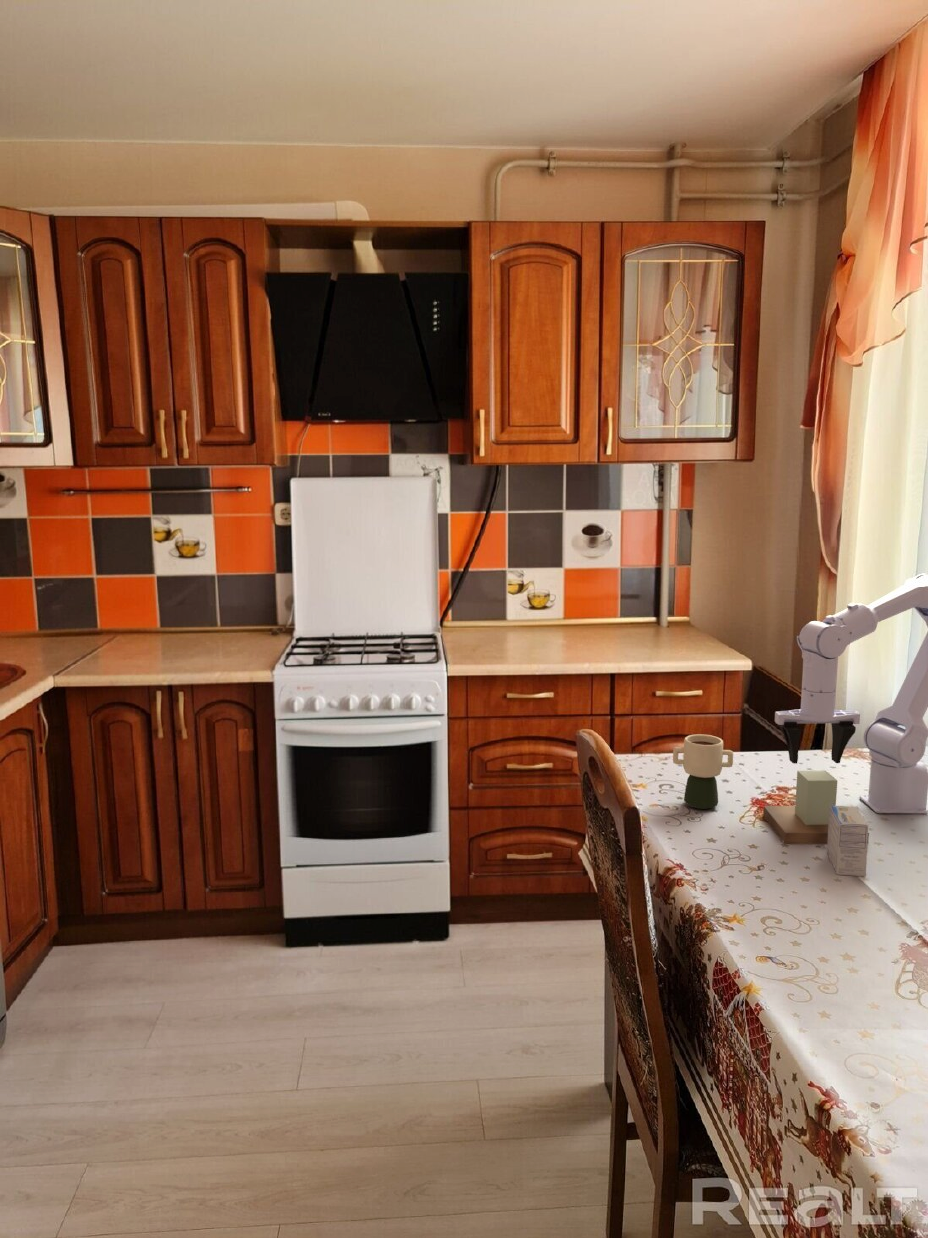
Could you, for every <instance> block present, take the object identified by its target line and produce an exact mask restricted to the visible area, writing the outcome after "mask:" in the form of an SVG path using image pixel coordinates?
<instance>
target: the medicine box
mask: <svg viewBox="0 0 928 1238" xmlns="http://www.w3.org/2000/svg"><path fill="white" fill-rule="evenodd" d="M868 833H869V825H868V823H867V821H866V819H865V818H864V816H863V814H862V813H861V812H860V810H859V808H858V807H857V806H851V805H850V806H848V805H836V806H830V810H829V825H828V840H827V844H826V855H828V858H829V861H830V863H831V864H832V867H833V869H834V870H835V873H836V875H841V876H850V877H851V876H853V877H866V876H867V861H868V845H869V840H868Z"/></svg>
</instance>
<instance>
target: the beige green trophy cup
mask: <svg viewBox="0 0 928 1238" xmlns="http://www.w3.org/2000/svg"><path fill="white" fill-rule="evenodd" d="M672 750H673V751H672V763H673V764H675V765H682V767H683V769H684V772H685V774H688V775H689V776H688V777H687V780H686V785H685V791H684V795H683V797H684V798H683V801H684V802H685V803H686V805H688V806H690V807H692V808H695V809H698V810H699V809H700V810H701V809H702V810H703V809H704V810H708V809H712V808H715V807H716V806H718V805H719V793H718V783H717V778H716V777H718V776H720V775H721V772H722V771H723V768H732V767H733V765H734V751H733V750H730V749H724V740H723V739H722V738H720V737H718V736H714V735H710V734H701V733H700V734H699V733H697V734H696V733H695V734H691V735H690V734H689V735H687V736H685V737H684V740H683V747H680V746H679V747H678V746H675V747H673V749H672ZM679 753H682V754H683V756H682V758H681V759H679ZM723 756H727V761H723V760H724V759H723V758H724V757H723Z"/></svg>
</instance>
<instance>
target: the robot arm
mask: <svg viewBox="0 0 928 1238" xmlns="http://www.w3.org/2000/svg"><path fill="white" fill-rule="evenodd" d="M846 607H847V608H846V609H843V610H842V611H840V612H839V611H838V613H835V614H833V615H830V614H829V615H826V616H825V617H824V619H823V620H822V621H818V620H817V621H816V620H813V621H809V622H808V623H807V624H805V625H804V626H803V627H802V629H801V630H800V632H799V635H797V636H796V641H797V645H798V647H799V648H800V650H801V658H802V659H803V661H802V675H801V676H802V677H801V679H802V680H801V695H800V697H801V699H800V709H791V710H780V711H775V712H774V722H775V724H777V725H778V726H779V728H780V730H781V732H782V735H783V738H784V740H785V743H786V746H787V751H788V760H789V761H790V762H791V763H792V764H795V765H797V764H798V760H799V745H800V738H801V734H802V730H801V729H800V728H799V725H798V724H831V725H830V726H831V733H832V734H831V735H832V736H831V737H832V741H831V742H832V743H831V753H830V755H831V756H830V757H831V761H833V762H834V763H835V764H840V763H841V761H842V760H841V759H842V757H843V753H844V751H845V749H846V747H847V745H848V743H849V741H850V740H851V738H852V737H853V736H854V734H856V729H857V726H855V725H860V724H861V723H860V721H861V719H860V718H861V713H859V711H856V710H843V709H842V710H841V709H836V695H837V681H838V663H839V657H840V656H842V654H844V652H845V650H846V649H847V647H848V646H849V645H850V644H852V643H854V642H856V641H858V640H859V639H863V638H864V637H866V636H868V635H870V634H872V633H874V632H875V631H876V630H877V627H878V624H879V623H880V622H882V621H884V620H887V619H889V618H892V617H894V616H896V615H898V614H901V613H904V612H906V611H908V610H912V609H913V608H914V609H915V611H916V612H917V613H918V615H919V616H920V617H921V619H923V621H924V623H925V624H926V627H927V628H928V574H927V573H920V574H918V575H916V576H914V577H912V578H908V579H907V580H905V582H904V585H901V586H900V587H898V588H896V589H894V590H893V591H891V592H889V593H888V594H886V595H884V596H882V597H881V598H879V599H877V600H876V601H873V602H871V603H870V604H868V605H865V604H863V603H855V602H850V603H849V604H847V605H846ZM913 659H914V660H913V662H912V664H911V666H910V667H909V670H908V672H907V674H906V676H905V678H904V680H903V682H902V684H901V686H900V688H899V691H898V693H897V694H896V697H895V699H894V701H893V703H892V705H890V706H888V707H886V708H884V709H881V710H879V711H878V712H877V715H876V716H875V718H874V719H873V721H871V722H870V723H869V724H868V725H867V726H866V728H865V730H864V732H863V744H864V746H865V747H866V748H867V749H868V750H869V752H868V754H869V756H870V757H871V759H870V768H869V769H870V770H869V780H868V781H869V783H868V794H864V795H863V794H860V795H859V799H860V800H861V801H863V802H864V803H865V805H867V806H868V807H869V808H870V809H871V810H873V811H874V812H875V813H876V814H928V809H927V803H928V802H927V801H928V768H927V765H926V764H925V763H924V762H923V761H921V760H922V758H923V757H924V755H925V752H926V744H927V739H928V726H927V725H926V723H925V721H924V716H925V714H926V713H927V710H928V631H927V632H926V635H925V636H924V638H923V641H922V643H921V645H920V647H919V649H918V650H917V653H916V655H915V658H913ZM901 726H902V727H901ZM903 727H904V728H903Z"/></svg>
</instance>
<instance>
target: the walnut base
mask: <svg viewBox="0 0 928 1238" xmlns="http://www.w3.org/2000/svg"><path fill="white" fill-rule="evenodd" d="M762 811H763V812H762V817H763V818H764V819H765V820H766V821H767V823H768V825H769V826H770V827H771V828H772V830H773V831H774V832H775V833H776V834H777V836H778V837H779V838H780V839H781V841H782V842H783V844H785V845H827V840H828V825H829V824H827V825H805V824H804V822H803V821H802V820H801V819H800V818H799V817H798V816H797V815H796V814H795V805H763V809H762ZM869 838H870V833H869V832H868V841H869Z"/></svg>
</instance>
